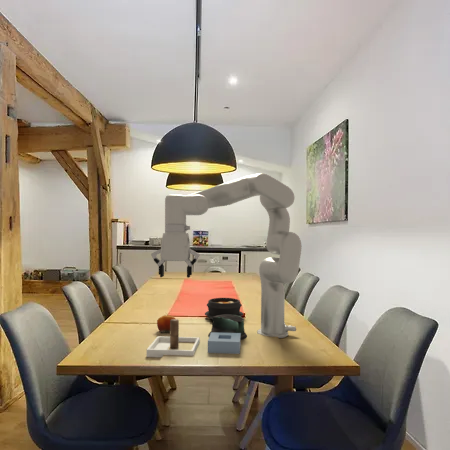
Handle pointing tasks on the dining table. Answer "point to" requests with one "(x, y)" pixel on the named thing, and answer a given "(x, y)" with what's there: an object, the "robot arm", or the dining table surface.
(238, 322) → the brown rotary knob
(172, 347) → the pin
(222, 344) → the holder
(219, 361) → the dining table surface
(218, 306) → the casserole
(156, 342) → the tray
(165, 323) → the fruit
